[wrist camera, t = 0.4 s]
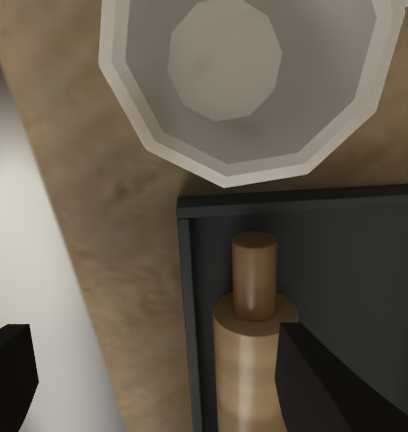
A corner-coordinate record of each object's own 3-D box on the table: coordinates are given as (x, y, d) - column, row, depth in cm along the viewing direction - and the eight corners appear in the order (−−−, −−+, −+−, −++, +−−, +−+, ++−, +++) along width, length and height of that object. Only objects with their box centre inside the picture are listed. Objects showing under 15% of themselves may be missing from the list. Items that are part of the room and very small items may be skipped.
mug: (108, 18, 17) (32, -51, 9) (353, -127, 15) (533, -367, 7) (191, 174, 19) (192, 232, 11) (409, 62, 18) (587, 38, 10)
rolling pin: (282, 460, 25) (297, 532, 21) (219, 462, 26) (222, 535, 21) (289, 221, 20) (312, 256, 15) (208, 224, 20) (210, 260, 16)
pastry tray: (404, 461, 27) (419, 488, 25) (198, 475, 26) (199, 503, 25) (455, 181, 20) (482, 190, 18) (177, 196, 19) (176, 207, 18)
